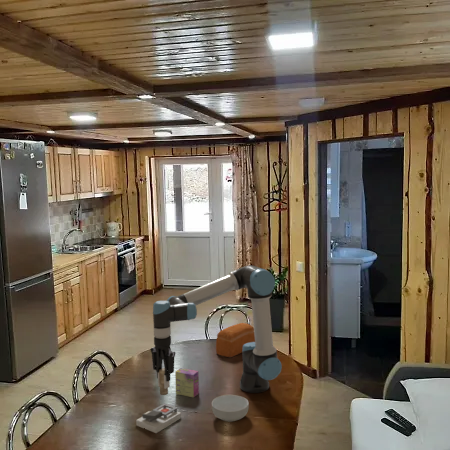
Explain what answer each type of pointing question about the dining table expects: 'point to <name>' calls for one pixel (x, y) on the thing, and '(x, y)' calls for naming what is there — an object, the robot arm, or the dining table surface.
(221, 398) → the cereal bowl
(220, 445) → the dining table surface
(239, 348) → the bread
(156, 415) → the rocker
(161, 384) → the dowel
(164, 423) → the box
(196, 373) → the box
